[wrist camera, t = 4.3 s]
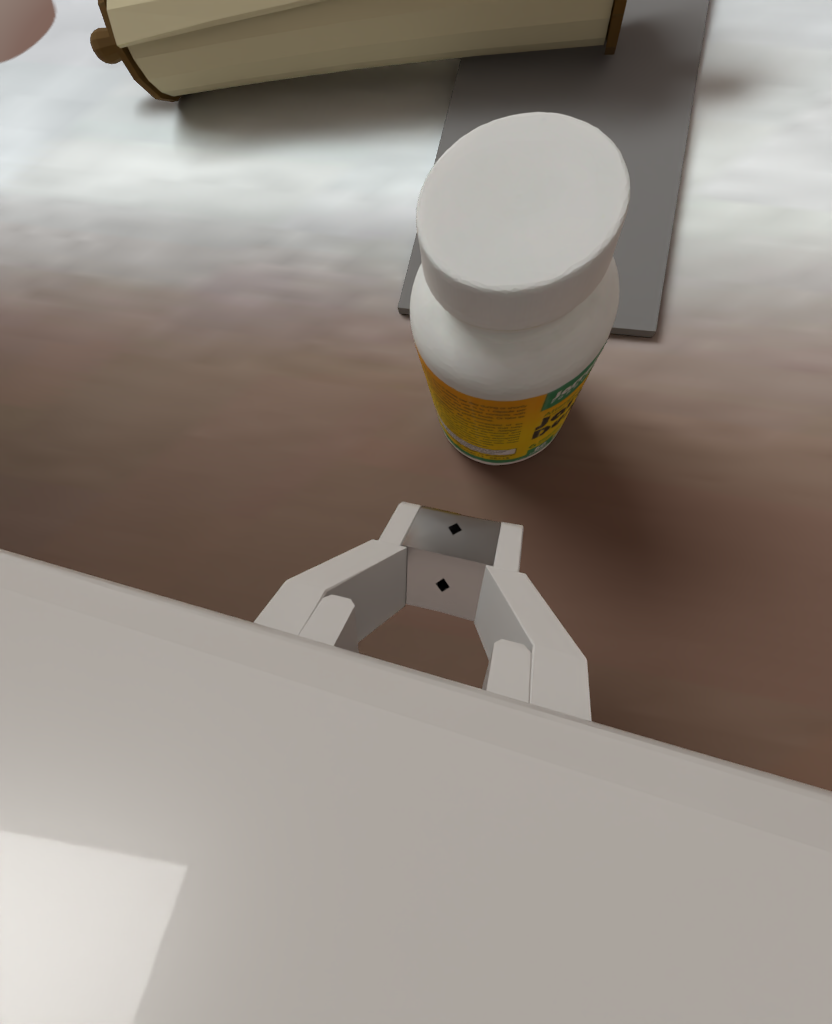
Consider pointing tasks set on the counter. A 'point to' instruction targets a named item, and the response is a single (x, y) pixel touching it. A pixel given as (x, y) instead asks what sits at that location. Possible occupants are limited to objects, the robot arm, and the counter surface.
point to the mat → (605, 127)
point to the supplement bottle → (516, 278)
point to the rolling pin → (329, 36)
